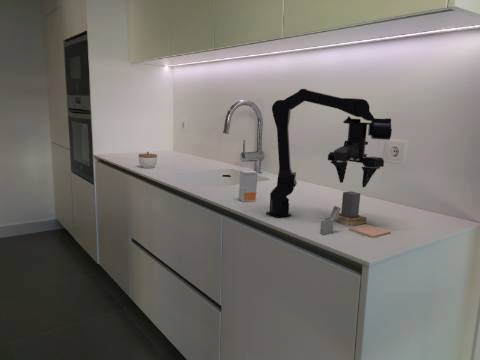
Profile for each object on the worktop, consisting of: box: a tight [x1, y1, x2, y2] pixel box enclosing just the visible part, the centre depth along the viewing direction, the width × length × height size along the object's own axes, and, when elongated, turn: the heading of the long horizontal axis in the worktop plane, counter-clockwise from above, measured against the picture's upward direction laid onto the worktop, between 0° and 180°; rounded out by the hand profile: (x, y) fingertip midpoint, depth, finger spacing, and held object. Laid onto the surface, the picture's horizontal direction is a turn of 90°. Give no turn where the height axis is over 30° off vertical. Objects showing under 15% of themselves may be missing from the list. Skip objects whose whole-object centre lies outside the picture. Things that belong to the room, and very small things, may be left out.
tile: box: [348, 223, 391, 239], centre depth 125 cm, size 9×9×1 cm
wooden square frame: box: [334, 212, 368, 227], centre depth 136 cm, size 8×8×2 cm
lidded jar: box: [138, 151, 158, 169], centre depth 236 cm, size 11×11×9 cm
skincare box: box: [238, 170, 258, 203], centre depth 160 cm, size 6×4×12 cm
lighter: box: [319, 205, 342, 236], centre depth 122 cm, size 7×2×8 cm, turn 129°
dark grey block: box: [340, 191, 361, 219], centre depth 136 cm, size 4×4×10 cm
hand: (352, 184), depth 134 cm, fingers open, 9 cm apart
